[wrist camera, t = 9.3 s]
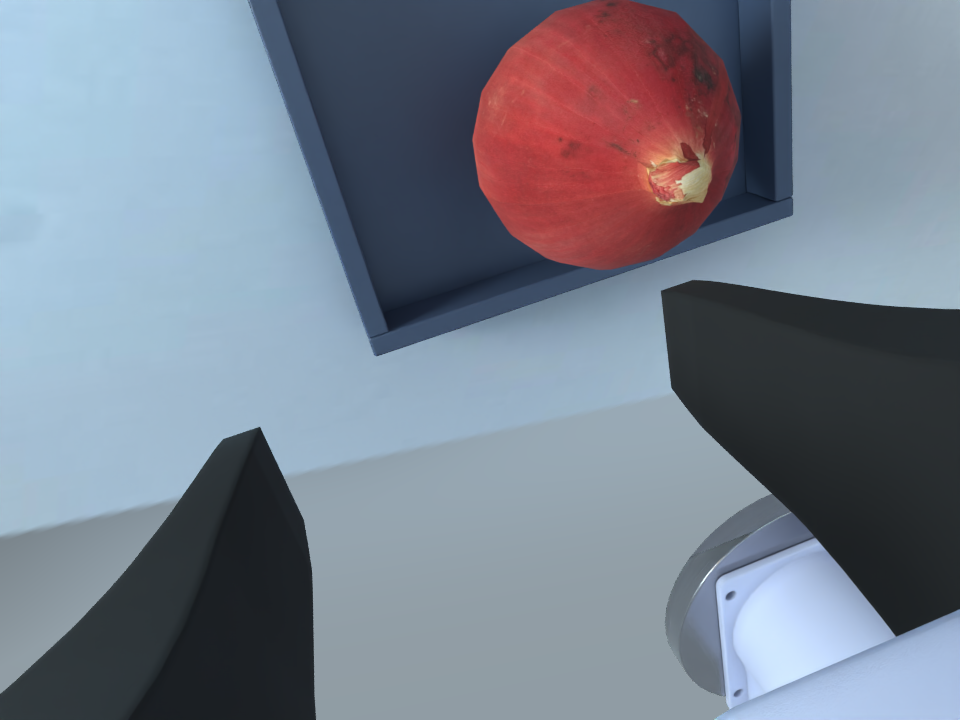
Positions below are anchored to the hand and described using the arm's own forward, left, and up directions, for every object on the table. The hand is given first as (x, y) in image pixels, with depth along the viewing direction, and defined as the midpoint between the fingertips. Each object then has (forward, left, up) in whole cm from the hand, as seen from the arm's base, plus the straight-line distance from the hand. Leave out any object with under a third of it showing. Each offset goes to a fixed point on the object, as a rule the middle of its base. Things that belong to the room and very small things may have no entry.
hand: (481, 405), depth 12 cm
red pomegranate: (+2, -5, -9) cm, 11 cm away
